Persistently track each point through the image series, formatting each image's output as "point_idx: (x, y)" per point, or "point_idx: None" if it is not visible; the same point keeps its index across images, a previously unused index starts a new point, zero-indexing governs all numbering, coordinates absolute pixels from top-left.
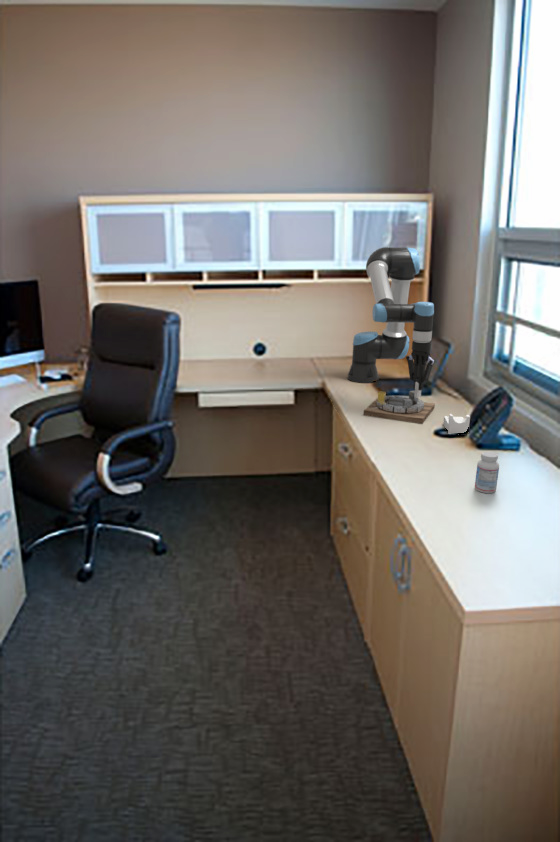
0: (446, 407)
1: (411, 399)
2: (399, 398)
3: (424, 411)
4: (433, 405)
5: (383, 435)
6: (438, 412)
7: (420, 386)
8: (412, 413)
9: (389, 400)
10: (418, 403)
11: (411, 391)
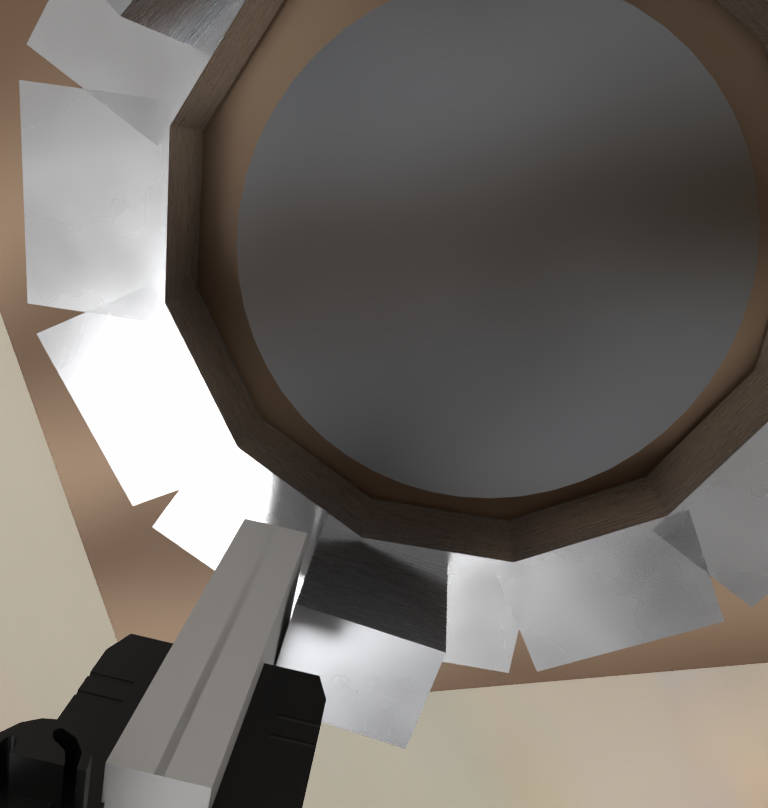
0: None
1: (381, 538)
2: (583, 441)
3: None
4: (114, 630)
5: None
6: (40, 533)
7: (95, 706)
8: None
9: (722, 161)
10: (154, 354)
11: (406, 673)
